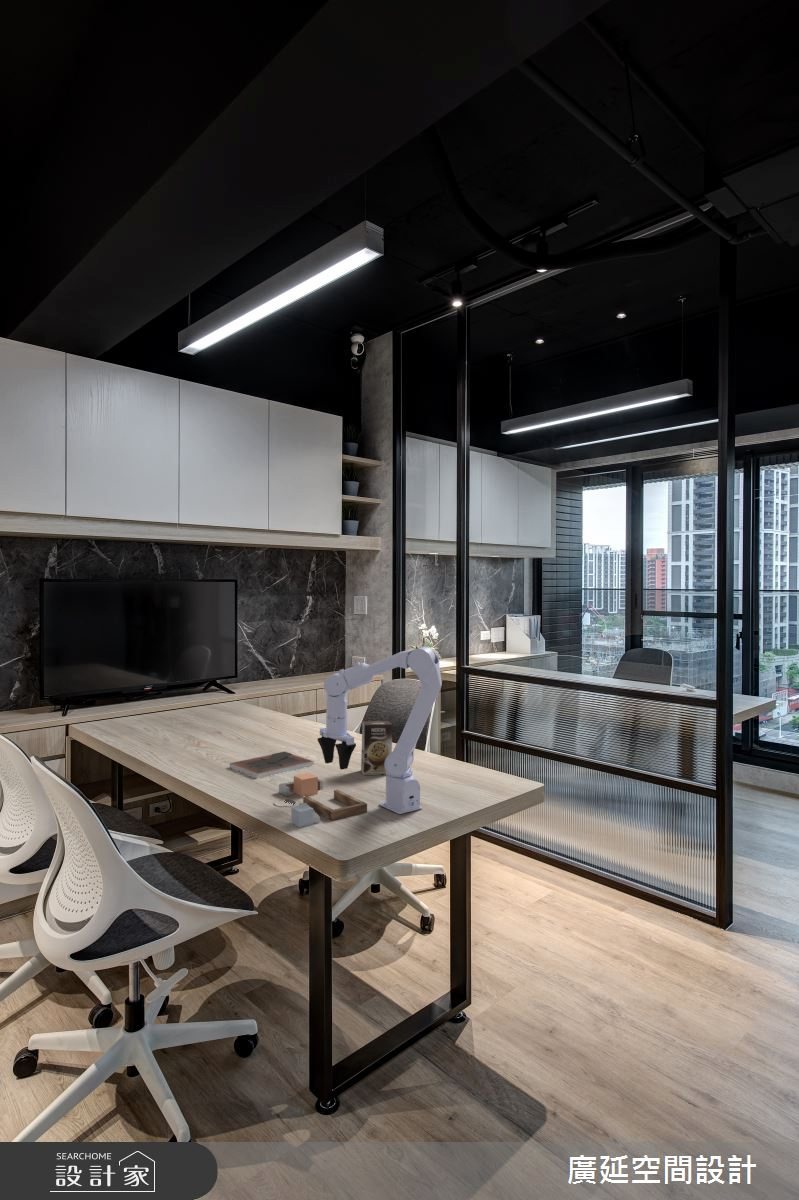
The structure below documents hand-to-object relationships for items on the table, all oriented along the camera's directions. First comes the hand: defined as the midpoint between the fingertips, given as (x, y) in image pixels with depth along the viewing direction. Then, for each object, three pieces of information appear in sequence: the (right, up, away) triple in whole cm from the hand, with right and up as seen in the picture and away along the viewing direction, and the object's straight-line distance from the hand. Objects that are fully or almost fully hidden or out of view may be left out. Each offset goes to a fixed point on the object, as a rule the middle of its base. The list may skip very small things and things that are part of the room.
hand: (336, 765), depth 181 cm
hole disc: (-14, -10, -2) cm, 17 cm away
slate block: (-7, -10, -17) cm, 21 cm away
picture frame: (-24, -10, +33) cm, 42 cm away
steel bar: (-6, -10, -11) cm, 17 cm away
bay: (0, -10, -6) cm, 11 cm away
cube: (-9, -10, +7) cm, 15 cm away
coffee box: (+10, -10, +29) cm, 32 cm away
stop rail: (-11, -9, +9) cm, 17 cm away
